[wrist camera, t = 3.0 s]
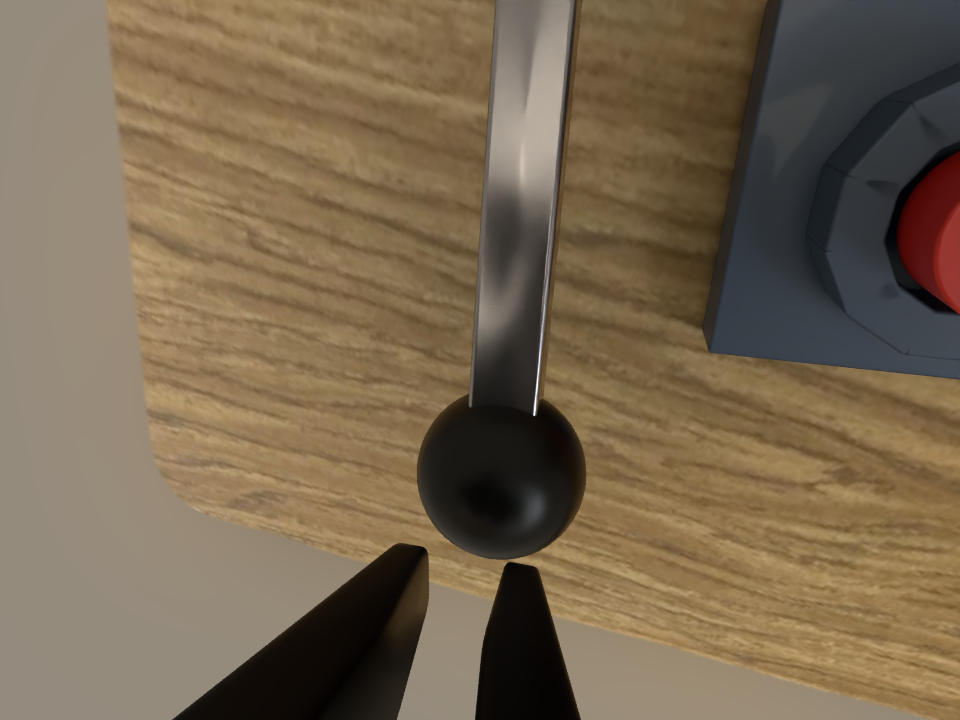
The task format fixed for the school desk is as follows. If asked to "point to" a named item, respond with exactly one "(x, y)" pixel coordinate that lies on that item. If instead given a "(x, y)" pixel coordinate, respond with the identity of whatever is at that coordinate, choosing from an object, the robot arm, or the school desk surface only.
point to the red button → (934, 232)
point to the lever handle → (514, 309)
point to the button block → (838, 188)
